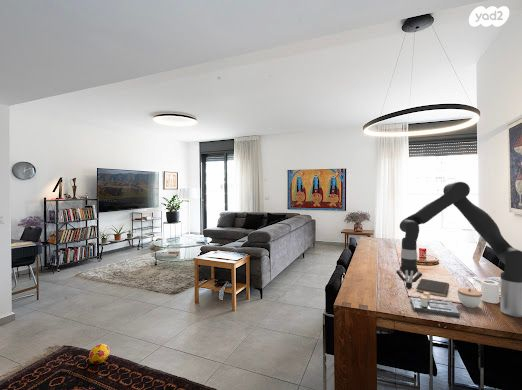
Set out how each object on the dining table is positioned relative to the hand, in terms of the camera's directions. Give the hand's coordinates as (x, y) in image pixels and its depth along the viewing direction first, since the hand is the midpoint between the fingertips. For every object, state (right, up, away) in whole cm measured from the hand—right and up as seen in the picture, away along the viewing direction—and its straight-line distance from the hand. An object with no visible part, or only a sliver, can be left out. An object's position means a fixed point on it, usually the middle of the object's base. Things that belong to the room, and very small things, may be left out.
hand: (408, 288), depth 148 cm
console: (+13, -10, -1) cm, 17 cm away
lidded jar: (+35, -10, +2) cm, 36 cm away
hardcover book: (+31, -10, +29) cm, 43 cm away
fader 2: (+7, -8, -3) cm, 11 cm away
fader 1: (+11, -8, +3) cm, 14 cm away
